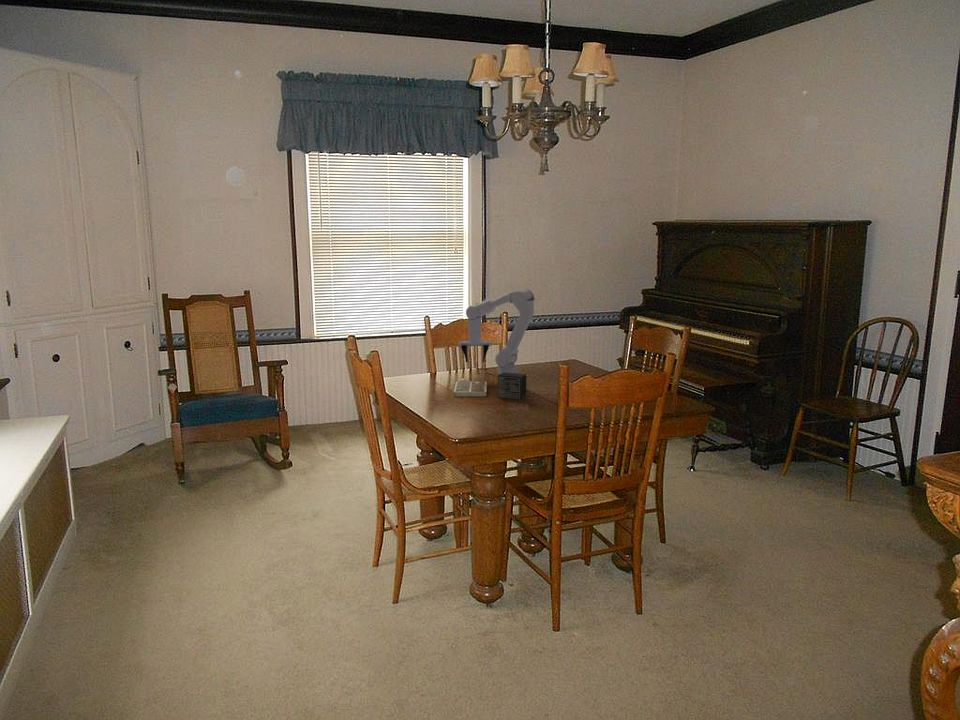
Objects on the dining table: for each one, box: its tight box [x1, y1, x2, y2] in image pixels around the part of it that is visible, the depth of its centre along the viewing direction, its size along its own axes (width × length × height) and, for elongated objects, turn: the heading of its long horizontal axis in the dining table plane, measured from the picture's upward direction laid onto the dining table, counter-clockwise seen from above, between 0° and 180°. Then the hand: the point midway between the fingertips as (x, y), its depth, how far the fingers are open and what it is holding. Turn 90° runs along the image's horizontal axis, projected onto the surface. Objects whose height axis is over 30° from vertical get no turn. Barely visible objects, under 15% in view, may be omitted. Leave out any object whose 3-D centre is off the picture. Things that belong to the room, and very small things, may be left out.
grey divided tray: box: [453, 380, 488, 397], centre depth 306 cm, size 14×20×3 cm
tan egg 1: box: [473, 374, 484, 385], centre depth 312 cm, size 4×4×5 cm
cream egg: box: [458, 378, 469, 388], centre depth 306 cm, size 4×4×5 cm
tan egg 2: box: [473, 382, 483, 392], centre depth 300 cm, size 4×4×5 cm
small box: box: [497, 372, 527, 400], centre depth 295 cm, size 11×6×10 cm, turn 65°
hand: (475, 361), depth 325 cm, fingers open, 7 cm apart
